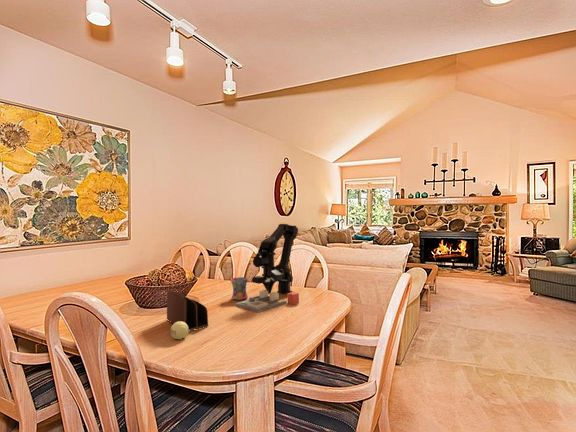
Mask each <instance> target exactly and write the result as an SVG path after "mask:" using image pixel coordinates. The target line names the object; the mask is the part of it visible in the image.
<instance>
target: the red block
mask: <svg viewBox="0 0 576 432" xmlns="http://www.w3.org/2000/svg"><path fill="white" fill-rule="evenodd" d="M286 294H287V304H289V305H291V306H292V305H293V306H294V305H298V304H300V295H299V294H300V293H299V292H295V291H292V292H290V293H286Z"/></svg>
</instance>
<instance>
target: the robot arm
mask: <svg viewBox="0 0 576 432" xmlns="http://www.w3.org/2000/svg"><path fill="white" fill-rule="evenodd" d="M298 233H299V228H298V227H297V225H290V224H287V223H280V224H278V226H277V228H276V229H275V230H274V231H273V233H272V234H270V236H269V237H266V238H264V239H263V240H262V241H261V243H260V246H259V248H258V250H257V253H255V256H254V257H253V259H252V264H253V266H254V267H255V268H261V269H262V270H263V273H262V274H261V275H256V276H253V277H252V278H251V281H252V283H253V284H262V286H264V288H265V290H267V291H268V295H269V293H272V292H273V286H274V284H275V283H276V282H277V283H278V284H277V291H276V293H279V294H285V295H286V294H287V293H291V292H293V291H292V290H291V283H293V281H294V277H293V275H292V274H291V267H290V266H289V263H290V259H291V252H292V248H293V242H294V240H295V239H296V238H297V236H298ZM282 237H283V239H284V241H283V245H282V251H281V255H280V262H279V263H278V264H276V265H275V256H276V255H277V254H276V252H275V250H276V248H278V247H277V246H278V242H279V240H280V239H282Z"/></svg>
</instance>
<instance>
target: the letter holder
mask: <svg viewBox="0 0 576 432" xmlns="http://www.w3.org/2000/svg"><path fill="white" fill-rule="evenodd" d="M208 314H209V313H208V308H207V307H206V306H205V305H203V304H202V303H201V302H199V301H197V300H194V299H191V298H188V297H187V296H184V295H182V294H180V293H178V292H177V291H175V290H168V291H167V293H166V320H167V319H168V320H169V321H171V322H172V323H173V324H174V323H175V322H178V321H182V322H185V323H186V324H187V325H188V329H189V330H194V329H198V330H200V329H199V328H202V329H204V328H203V327H206V328H208V327H209V315H208ZM173 324H172V325H173ZM207 326H208V327H207ZM194 331H195V330H194Z"/></svg>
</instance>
